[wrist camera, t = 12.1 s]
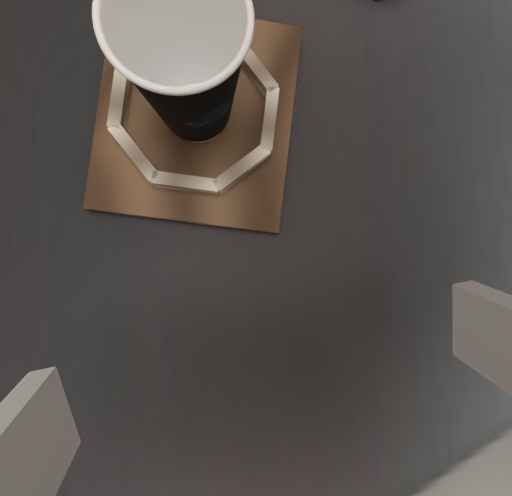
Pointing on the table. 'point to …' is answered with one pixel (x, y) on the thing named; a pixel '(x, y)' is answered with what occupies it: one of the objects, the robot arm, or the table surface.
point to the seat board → (200, 147)
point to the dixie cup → (179, 56)
